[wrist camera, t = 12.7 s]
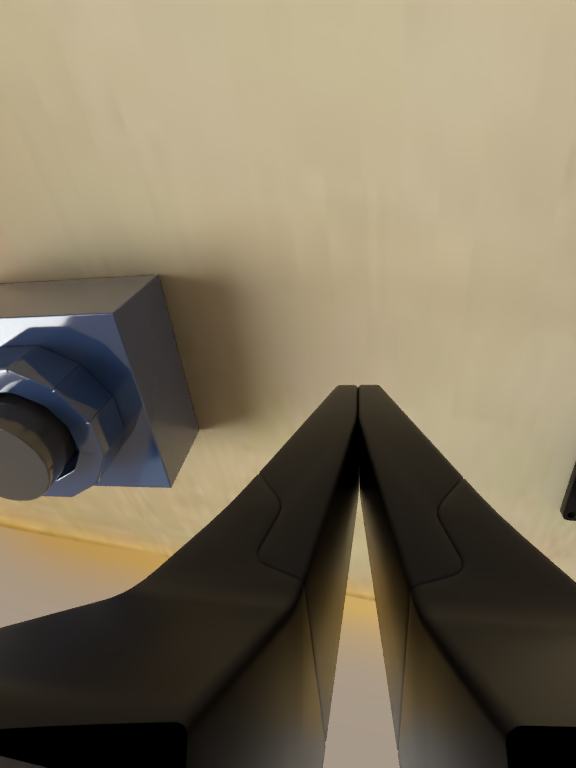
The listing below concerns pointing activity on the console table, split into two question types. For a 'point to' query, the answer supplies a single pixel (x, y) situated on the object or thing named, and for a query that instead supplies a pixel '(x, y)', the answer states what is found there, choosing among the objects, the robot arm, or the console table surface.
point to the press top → (31, 448)
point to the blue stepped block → (101, 376)
